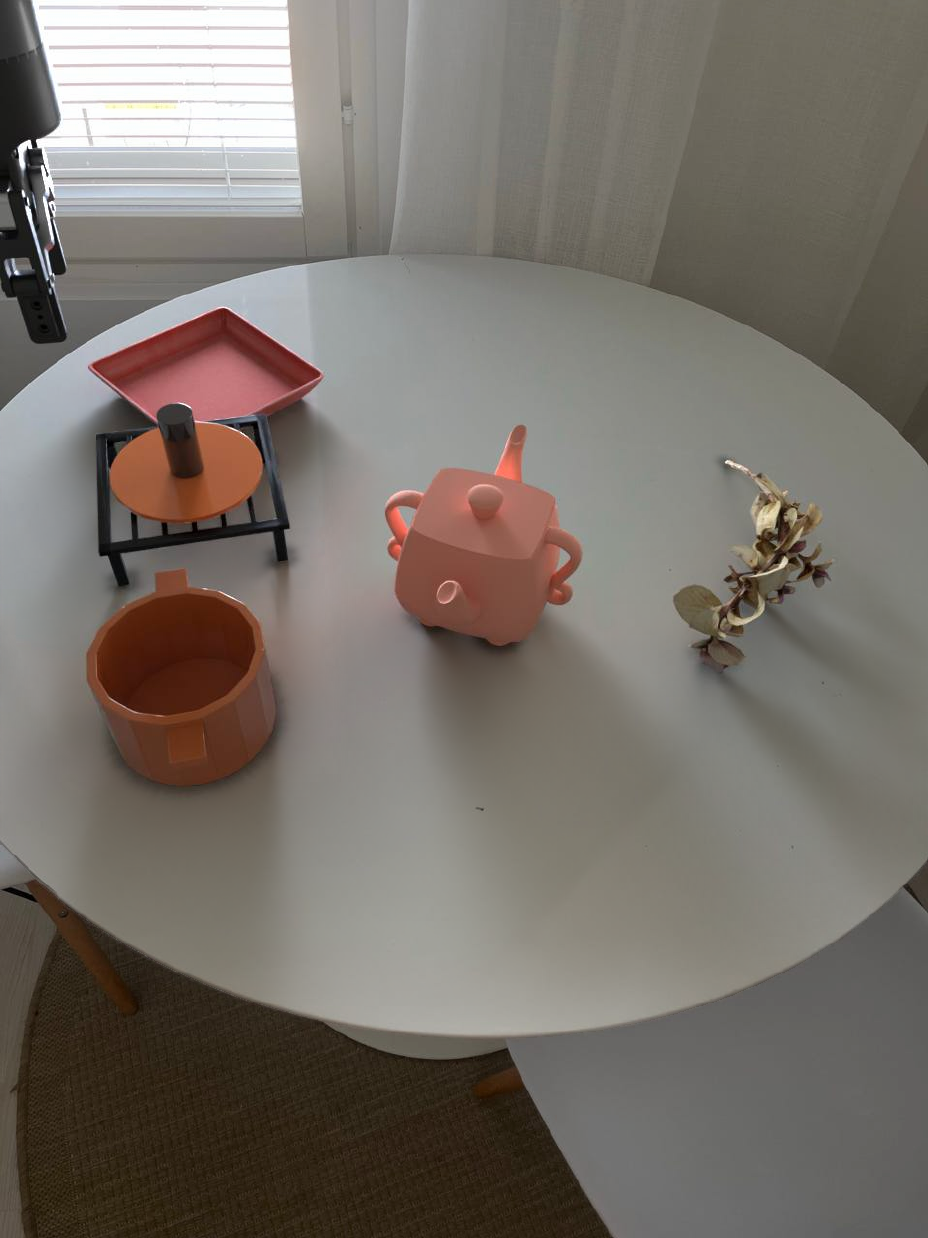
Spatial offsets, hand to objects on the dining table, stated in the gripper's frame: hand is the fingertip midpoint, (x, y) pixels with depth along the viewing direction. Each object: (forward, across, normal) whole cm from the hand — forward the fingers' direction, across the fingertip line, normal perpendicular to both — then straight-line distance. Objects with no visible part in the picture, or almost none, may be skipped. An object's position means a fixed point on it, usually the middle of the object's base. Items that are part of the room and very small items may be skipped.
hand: (50, 305), depth 61 cm
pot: (+26, +17, +4) cm, 32 cm away
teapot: (+26, +10, +29) cm, 40 cm away
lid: (+21, -6, +6) cm, 23 cm away
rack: (+26, -6, +6) cm, 28 cm away
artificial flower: (+26, +11, +55) cm, 62 cm away
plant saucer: (+26, -25, +10) cm, 38 cm away
